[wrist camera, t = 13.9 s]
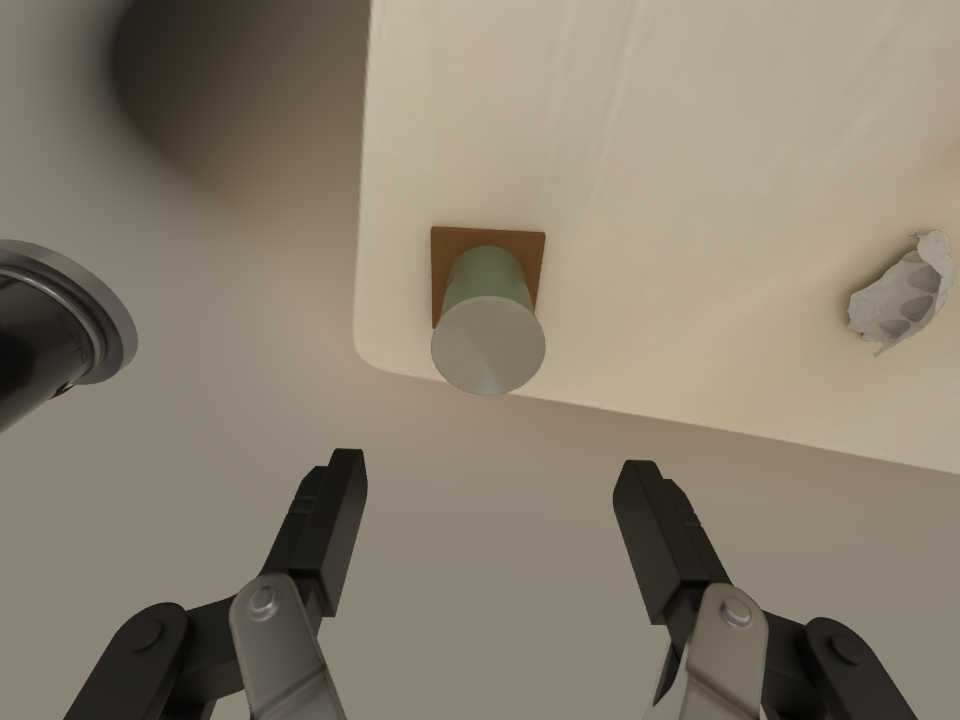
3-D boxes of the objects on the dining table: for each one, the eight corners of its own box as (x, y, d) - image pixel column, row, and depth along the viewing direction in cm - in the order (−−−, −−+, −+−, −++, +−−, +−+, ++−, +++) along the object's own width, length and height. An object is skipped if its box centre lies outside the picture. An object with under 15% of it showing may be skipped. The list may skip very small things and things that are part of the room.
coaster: (433, 325, 29) (432, 329, 28) (431, 226, 25) (430, 229, 24) (530, 329, 29) (531, 334, 28) (544, 232, 25) (546, 235, 24)
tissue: (975, 242, 25) (1045, 264, 22) (874, 346, 29) (921, 377, 26) (902, 219, 24) (965, 239, 21) (810, 329, 29) (850, 359, 26)
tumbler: (443, 319, 28) (431, 393, 21) (443, 239, 24) (429, 296, 18) (524, 323, 28) (537, 397, 21) (534, 244, 25) (553, 302, 18)
